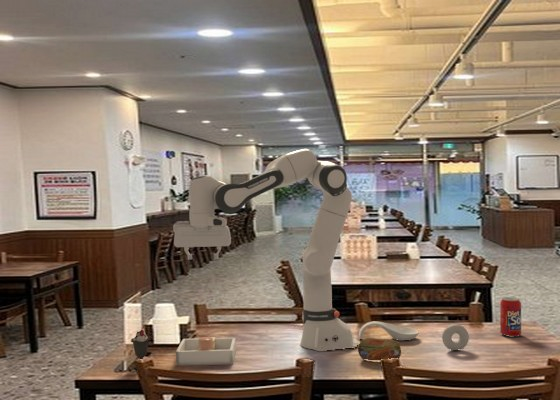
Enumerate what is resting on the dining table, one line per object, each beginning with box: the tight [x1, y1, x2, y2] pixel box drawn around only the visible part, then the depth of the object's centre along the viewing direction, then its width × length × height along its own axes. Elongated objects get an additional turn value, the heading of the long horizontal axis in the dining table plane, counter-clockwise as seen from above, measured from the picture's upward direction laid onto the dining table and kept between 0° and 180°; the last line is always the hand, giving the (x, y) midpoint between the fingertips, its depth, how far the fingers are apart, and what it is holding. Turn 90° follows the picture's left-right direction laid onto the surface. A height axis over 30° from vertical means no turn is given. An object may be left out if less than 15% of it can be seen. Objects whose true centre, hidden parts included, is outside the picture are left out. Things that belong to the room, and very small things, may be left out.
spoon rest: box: [358, 320, 419, 341], centre depth 230 cm, size 24×12×7 cm, turn 87°
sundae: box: [130, 326, 151, 360], centre depth 202 cm, size 7×7×15 cm
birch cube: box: [210, 336, 217, 350], centre depth 215 cm, size 5×5×5 cm
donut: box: [441, 323, 470, 351], centre depth 213 cm, size 10×3×10 cm, turn 95°
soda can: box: [499, 296, 522, 337], centre depth 231 cm, size 8×8×15 cm
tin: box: [357, 337, 402, 361], centre depth 203 cm, size 15×3×8 cm, turn 68°
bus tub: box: [175, 337, 237, 367], centre depth 211 cm, size 20×16×5 cm
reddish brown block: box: [199, 336, 213, 350], centre depth 208 cm, size 5×5×7 cm
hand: (203, 259), depth 206 cm, fingers open, 8 cm apart
